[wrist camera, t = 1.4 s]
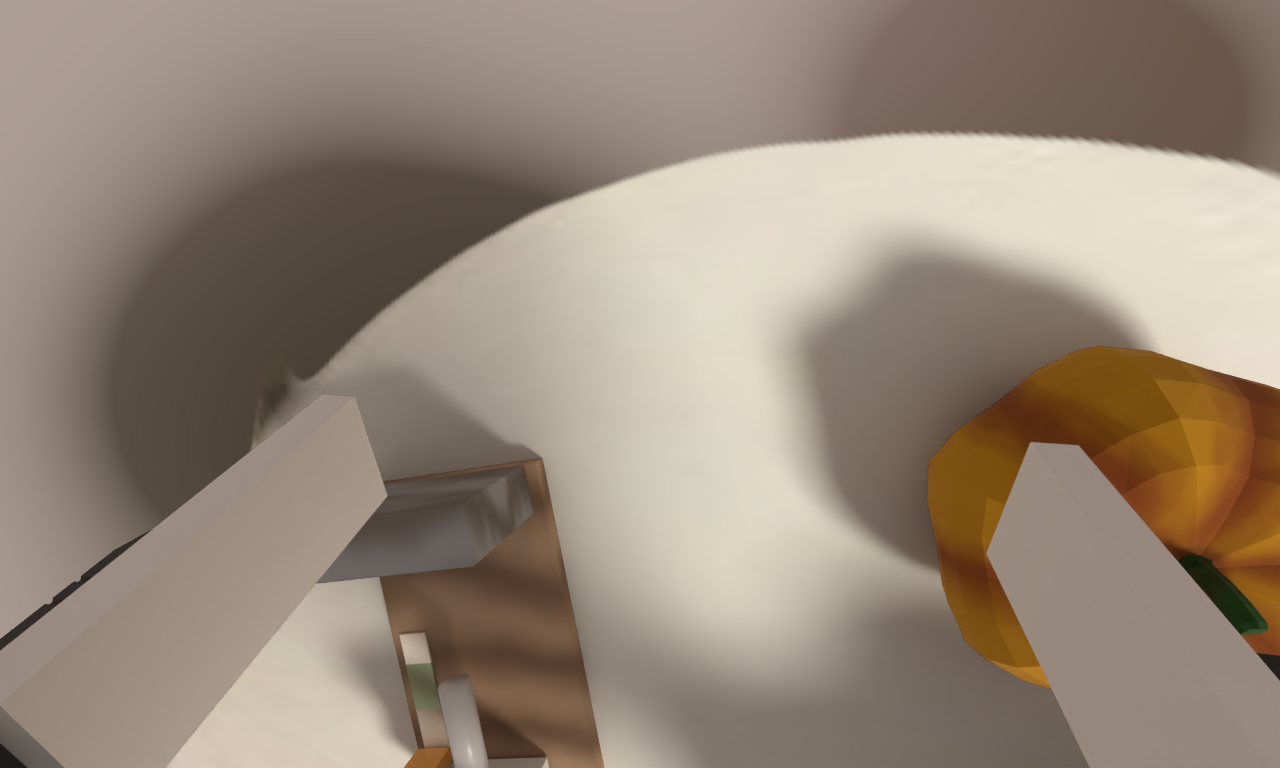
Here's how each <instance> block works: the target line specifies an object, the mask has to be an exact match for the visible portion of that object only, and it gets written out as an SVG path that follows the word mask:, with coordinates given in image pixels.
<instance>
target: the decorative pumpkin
mask: <svg viewBox="0 0 1280 768" xmlns="http://www.w3.org/2000/svg"><path fill="white" fill-rule="evenodd" d="M1030 442H1037V443H1052V444H1067V445H1079V446H1080V448H1081V449H1082V450H1083V451H1084V452H1085V453H1086V455H1087V456H1088V457H1089V458H1090V459H1091V460H1092V462H1093V463H1094V464H1095V465H1096V466H1097V468H1098V469H1099V470H1100V471H1101V472H1102V473H1103V475H1104V476H1105V477H1106V478H1107V479H1108V480H1109V482H1110V483H1111V484H1112V485H1113V486H1114V487H1115V489H1116V490H1117V491H1118V492H1119V493H1120V494H1121V496H1122V497H1123V498H1124V499H1125V500H1126V501H1127V503H1128V504H1129V505H1130V506H1131V507H1132V508H1133V510H1134V511H1135V512H1136V513H1137V514H1138V515H1139V517H1140V518H1141V519H1142V520H1143V521H1144V523H1145V524H1146V525H1147V526H1148V527H1149V528H1150V530H1151V531H1152V532H1153V533H1154V534H1155V535H1156V537H1157V538H1158V539H1159V540H1160V541H1161V542H1162V544H1163V545H1164V546H1165V547H1166V548H1167V549H1168V551H1169V552H1170V553H1171V554H1172V555H1173V556H1174V558H1175V559H1176V560H1177V561H1178V562H1179V563H1180V565H1181V566H1182V567H1183V568H1184V569H1185V571H1186V572H1187V573H1188V574H1189V575H1190V576H1191V578H1192V579H1193V580H1194V581H1195V582H1196V583H1197V585H1198V586H1199V587H1200V588H1201V589H1202V590H1203V592H1204V593H1205V594H1206V595H1207V596H1208V597H1209V599H1210V600H1211V601H1212V602H1213V603H1214V604H1215V606H1216V607H1217V608H1218V609H1219V610H1220V611H1221V613H1222V614H1223V615H1224V616H1225V617H1226V618H1227V620H1228V621H1229V622H1230V623H1231V624H1232V626H1233V627H1234V628H1235V629H1236V630H1237V631H1238V633H1239V634H1240V635H1241V636H1242V637H1243V638H1244V640H1245V641H1246V642H1247V643H1248V644H1249V645H1250V647H1251V648H1252V649H1253V650H1254V651H1255V652H1256V653H1261V654H1270V655H1279V656H1280V389H1277V388H1274V387H1271V386H1268V385H1265V384H1261V383H1257V382H1253V381H1250V380H1246V379H1242V378H1238V377H1235V376H1231V375H1227V374H1223V373H1220V372H1216V371H1212V370H1208V369H1205V368H1202V367H1199V366H1196V365H1192V364H1189V363H1186V362H1183V361H1180V360H1177V359H1174V358H1171V357H1168V356H1165V355H1162V354H1158V353H1155V352H1152V351H1146V350H1135V349H1124V348H1114V347H1103V346H1097V347H1092V348H1088V349H1083V350H1078V351H1075V352H1073V353H1071V354H1069V355H1067V356H1065V357H1063V358H1061V359H1059V360H1057V361H1055V362H1053V363H1051V364H1049V365H1047V366H1045V367H1043V368H1041V369H1039V370H1037V371H1035V372H1034V373H1033V374H1031V375H1030V376H1029V377H1028V378H1026V379H1025V380H1024V381H1023V382H1021V383H1020V384H1019V385H1018V386H1017V387H1015V388H1014V389H1013V390H1012V391H1010V392H1009V393H1008V394H1007V395H1005V396H1004V397H1003V398H1002V399H1000V400H999V401H998V402H997V403H995V404H994V405H992V406H991V407H990V408H988V409H987V410H985V411H984V412H983V413H981V414H980V415H978V416H977V417H975V418H974V419H973V420H971V421H970V422H968V423H967V424H965V425H964V426H963V427H961V428H960V429H958V430H957V431H956V432H955V433H954V434H953V435H952V436H951V437H950V438H949V439H948V441H947V442H946V443H945V444H944V445H943V446H942V447H941V448H940V450H939V451H938V452H937V453H936V454H935V455H934V456H933V457H932V458H931V460H930V461H929V465H928V488H927V503H928V507H929V512H930V517H931V521H932V526H933V530H934V535H935V540H936V545H937V552H938V558H939V565H940V572H941V579H942V585H943V588H944V591H945V594H946V597H947V601H948V603H949V606H950V608H951V610H952V612H953V615H954V617H955V619H956V621H957V624H958V626H959V628H960V630H961V633H962V635H963V637H964V640H965V642H966V643H968V644H969V645H970V646H971V647H972V648H973V649H975V650H976V651H977V652H978V653H979V654H980V655H982V656H983V657H984V658H985V659H987V660H988V661H990V662H992V663H994V664H995V665H997V666H999V667H1001V668H1002V669H1004V670H1006V671H1008V672H1009V673H1011V674H1013V675H1015V676H1016V677H1018V678H1020V679H1022V680H1023V681H1026V682H1029V683H1032V684H1036V685H1039V686H1042V687H1045V688H1048V689H1051V687H1050V685H1049V683H1048V681H1047V678H1046V676H1045V674H1044V672H1043V670H1042V668H1041V666H1040V664H1039V662H1038V660H1037V658H1036V656H1035V654H1034V652H1033V649H1032V647H1031V645H1030V643H1029V641H1028V639H1027V637H1026V635H1025V633H1024V631H1023V629H1022V627H1021V625H1020V622H1019V620H1018V618H1017V616H1016V614H1015V612H1014V610H1013V608H1012V606H1011V604H1010V602H1009V600H1008V598H1007V596H1006V593H1005V591H1004V589H1003V587H1002V585H1001V583H1000V581H999V579H998V577H997V575H996V573H995V571H994V569H993V567H992V564H991V562H990V560H989V558H988V556H987V554H986V553H987V550H988V548H989V545H990V543H991V540H992V538H993V535H994V533H995V530H996V528H997V525H998V523H999V520H1000V518H1001V515H1002V513H1003V510H1004V508H1005V505H1006V502H1007V500H1008V497H1009V495H1010V492H1011V490H1012V487H1013V485H1014V482H1015V480H1016V477H1017V475H1018V472H1019V470H1020V467H1021V465H1022V462H1023V460H1024V457H1025V454H1026V452H1027V449H1028V447H1029V444H1030ZM1051 690H1052V689H1051Z"/></svg>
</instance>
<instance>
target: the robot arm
mask: <svg viewBox="0 0 1280 768" xmlns="http://www.w3.org/2000/svg"><path fill="white" fill-rule="evenodd" d="M387 496H388V495H387V492H386V489H385V486H384V483H383V480H382V477H381V474H380V471H379V468H378V465H377V462H376V459H375V456H374V453H373V450H372V447H371V444H370V441H369V438H368V435H367V432H366V429H365V426H364V423H363V420H362V417H361V414H360V411H359V408H358V405H357V402H356V399H355V397H354V396H339V395H324V394H322V395H321V396H320V397H318V398H317V399H316V400H315V401H313V402H312V403H311V404H310V405H308V406H307V407H306V408H305V409H303V410H302V411H301V412H300V413H298V414H297V415H296V416H295V417H293V418H292V419H291V420H289V421H288V422H287V423H286V424H284V425H283V426H282V427H281V428H279V429H278V430H277V431H276V432H274V433H273V434H272V435H271V436H269V437H268V438H267V439H266V440H264V441H263V442H262V443H261V444H259V445H258V446H257V447H256V448H254V449H253V450H252V451H251V452H249V453H248V454H247V455H245V456H244V457H243V458H242V459H240V460H239V461H238V462H237V463H236V464H234V465H233V466H232V467H230V468H229V469H228V470H227V471H225V472H224V473H223V474H222V475H220V476H219V477H218V478H217V479H215V480H214V481H213V482H212V483H210V484H209V485H208V486H207V487H205V488H204V489H203V490H201V491H200V492H199V493H198V494H196V495H195V496H194V497H193V498H191V499H190V500H189V501H188V502H186V503H185V504H184V505H183V506H181V507H180V508H179V509H178V510H177V511H175V512H174V513H173V514H171V515H170V516H169V517H168V518H166V519H165V520H164V521H163V522H161V523H160V524H159V525H158V526H156V527H155V528H154V529H152V530H150V531H148V532H146V533H145V534H143V535H141V536H139V537H137V538H135V539H134V540H132V541H130V542H128V543H127V544H124V545H123V546H121V547H119V548H117V549H115V550H114V551H112V552H111V553H110V554H109V555H107V556H106V557H105V558H104V559H102V560H101V561H100V562H98V563H97V564H96V565H95V566H93V567H92V568H91V569H89V570H88V571H87V572H86V573H84V574H83V575H82V576H81V580H80V581H79V582H73V583H71V584H70V585H69V586H68V587H66V588H65V589H64V590H62V591H61V592H60V593H59V594H57V595H56V596H55V597H53V601H52V603H51V604H49V605H48V604H45V605H43V606H42V607H41V608H39V609H38V610H37V611H36V612H34V613H33V614H32V615H30V616H29V617H28V618H27V619H25V620H24V621H23V622H21V623H20V624H19V625H18V626H16V627H15V628H14V629H12V630H11V631H10V632H9V633H7V634H6V635H5V636H4V637H2V638H1V639H0V768H165V767H166V766H167V765H168V764H169V763H170V761H171V760H172V759H173V758H174V756H175V755H176V754H177V753H178V752H179V750H180V749H181V748H182V747H183V745H184V744H185V743H186V742H187V741H188V739H189V738H190V737H191V736H192V734H193V733H194V732H195V731H196V730H197V728H198V727H199V726H200V725H201V723H202V722H203V721H204V720H205V719H206V717H207V716H208V715H209V714H210V712H211V711H212V710H213V709H214V708H215V706H216V705H217V704H218V703H219V701H220V700H221V699H222V698H223V697H224V695H225V694H226V693H227V692H228V690H229V689H230V688H231V687H232V686H233V684H234V683H235V682H236V681H237V679H238V678H239V677H240V676H241V675H242V673H243V672H244V671H245V670H246V668H247V667H248V666H249V665H250V664H251V662H252V661H253V660H254V659H255V657H256V656H257V655H258V654H259V653H260V651H261V650H262V649H263V648H264V646H265V645H266V644H267V643H268V641H269V640H270V639H271V638H272V637H273V635H274V634H275V633H276V632H277V630H278V629H279V628H280V627H281V626H282V624H283V623H284V622H285V621H286V619H287V618H288V617H289V616H290V615H291V613H292V612H293V611H294V610H295V608H296V607H297V606H298V605H299V604H300V602H301V601H302V600H303V599H304V597H305V596H306V595H307V594H308V593H309V591H310V590H311V589H312V588H313V586H314V585H315V584H316V583H317V582H318V580H319V579H320V578H321V577H322V575H323V574H324V573H325V572H326V571H327V569H328V568H329V567H330V566H331V564H332V563H333V562H334V561H335V560H336V558H337V557H338V556H339V555H340V553H341V552H342V551H343V550H344V549H345V547H346V546H347V545H348V544H349V542H350V541H351V540H352V539H353V538H354V536H355V535H356V534H357V533H358V531H359V530H360V529H361V528H362V527H363V525H364V524H365V523H366V522H367V520H368V519H369V518H370V517H371V516H372V514H373V513H374V512H375V511H376V509H377V508H378V507H379V506H380V505H381V503H382V502H383V501H384V500H385V498H386V497H387ZM986 554H987V556H988V558H989V560H990V562H991V564H992V567H993V569H994V571H995V573H996V575H997V577H998V579H999V581H1000V583H1001V585H1002V587H1003V589H1004V591H1005V593H1006V596H1007V598H1008V600H1009V602H1010V604H1011V606H1012V608H1013V610H1014V612H1015V614H1016V616H1017V618H1018V620H1019V622H1020V625H1021V627H1022V629H1023V631H1024V633H1025V635H1026V637H1027V639H1028V641H1029V643H1030V645H1031V647H1032V649H1033V652H1034V654H1035V656H1036V658H1037V660H1038V662H1039V664H1040V666H1041V668H1042V670H1043V672H1044V674H1045V676H1046V678H1047V681H1048V683H1049V685H1050V687H1051V689H1052V691H1053V693H1054V695H1055V697H1056V699H1057V701H1058V703H1059V705H1060V707H1061V710H1062V712H1063V714H1064V716H1065V718H1066V720H1067V722H1068V724H1069V726H1070V728H1071V730H1072V732H1073V734H1074V737H1075V739H1076V741H1077V743H1078V745H1079V747H1080V749H1081V751H1082V753H1083V755H1084V757H1085V759H1086V761H1087V763H1088V766H1089V768H1280V656H1279V655H1270V654H1261V653H1256V652H1255V651H1254V650H1253V649H1252V648H1251V647H1250V645H1249V644H1248V643H1247V642H1246V641H1245V640H1244V638H1243V637H1242V636H1241V635H1240V634H1239V633H1238V631H1237V630H1236V629H1235V628H1234V627H1233V626H1232V624H1231V623H1230V622H1229V621H1228V620H1227V618H1226V617H1225V616H1224V615H1223V614H1222V613H1221V611H1220V610H1219V609H1218V608H1217V607H1216V606H1215V604H1214V603H1213V602H1212V601H1211V600H1210V599H1209V597H1208V596H1207V595H1206V594H1205V593H1204V592H1203V590H1202V589H1201V588H1200V587H1199V586H1198V585H1197V583H1196V582H1195V581H1194V580H1193V579H1192V578H1191V576H1190V575H1189V574H1188V573H1187V572H1186V571H1185V569H1184V568H1183V567H1182V566H1181V565H1180V563H1179V562H1178V561H1177V560H1176V559H1175V558H1174V556H1173V555H1172V554H1171V553H1170V552H1169V551H1168V549H1167V548H1166V547H1165V546H1164V545H1163V544H1162V542H1161V541H1160V540H1159V539H1158V538H1157V537H1156V535H1155V534H1154V533H1153V532H1152V531H1151V530H1150V528H1149V527H1148V526H1147V525H1146V524H1145V523H1144V521H1143V520H1142V519H1141V518H1140V517H1139V515H1138V514H1137V513H1136V512H1135V511H1134V510H1133V508H1132V507H1131V506H1130V505H1129V504H1128V503H1127V501H1126V500H1125V499H1124V498H1123V497H1122V496H1121V494H1120V493H1119V492H1118V491H1117V490H1116V489H1115V487H1114V486H1113V485H1112V484H1111V483H1110V482H1109V480H1108V479H1107V478H1106V477H1105V476H1104V475H1103V473H1102V472H1101V471H1100V470H1099V469H1098V468H1097V466H1096V465H1095V464H1094V463H1093V462H1092V460H1091V459H1090V458H1089V457H1088V456H1087V455H1086V453H1085V452H1084V451H1083V450H1082V449H1081V448H1080V446H1079V445H1067V444H1052V443H1037V442H1030V444H1029V447H1028V449H1027V452H1026V454H1025V457H1024V460H1023V462H1022V465H1021V467H1020V470H1019V472H1018V475H1017V477H1016V480H1015V482H1014V485H1013V487H1012V490H1011V492H1010V495H1009V497H1008V500H1007V502H1006V505H1005V508H1004V510H1003V513H1002V515H1001V518H1000V520H999V523H998V525H997V528H996V530H995V533H994V535H993V538H992V540H991V543H990V545H989V548H988V550H987V553H986Z"/></svg>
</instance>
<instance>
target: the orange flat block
mask: <svg viewBox="0 0 1280 768" xmlns="http://www.w3.org/2000/svg"><path fill="white" fill-rule="evenodd" d="M451 762H452V756H451V752H450V748H428V749H418V750H417V751H416V753H415V754H414V755H413V756H412V758H411V759H410V760H409V762H408V763H407V764H406V766H405V767H404V768H448V767H449V765H450V764H451Z"/></svg>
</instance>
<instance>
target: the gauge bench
mask: <svg viewBox="0 0 1280 768" xmlns="http://www.w3.org/2000/svg"><path fill="white" fill-rule="evenodd" d="M383 483H384V486H385V489H386V492H387V495H388V496H387V497H386V498H385V500H384V501H383V502H382V503H381V505H380V506H379V507H378V508H377V509H376V511H375V512H374V513H373V514H372V516H371V517H370V518H369V519H368V520H367V522H366V523H365V524H364V525H363V527H362V528H361V529H360V530H359V531H358V533H357V534H356V535H355V536H354V538H353V539H352V540H351V541H350V542H349V544H348V545H347V546H346V547H345V549H344V550H343V551H342V552H341V553H340V555H339V556H338V557H337V558H336V560H335V561H334V562H333V563H332V564H331V566H330V567H329V568H328V569H327V571H326V572H325V573H324V574H323V575H322V577H321V578H320V579H319V580H318V582H317V583H326V582H335V581H344V580H353V579H362V578H372V577H380V580H381V585H382V589H383V594H384V598H385V603H386V607H387V612H388V616H389V620H390V625H391V629H392V634H393V638H394V643H395V647H396V652H397V656H398V661H399V665H400V669H401V674H402V678H403V683H404V687H405V692H406V696H407V701H408V705H409V709H410V714H411V718H412V723H413V727H414V732H415V736H416V741H417V745H418V749H428V748H450V744H449V740H448V735H447V731H446V726H445V721H444V717H443V712H442V708H441V703H440V699H439V694H438V687H439V685H440V684H441V683H442V682H443V681H445V680H446V679H448V678H450V677H452V676H455V675H459V674H467V675H469V676H470V679H471V683H472V688H473V693H474V697H475V702H476V706H477V711H478V716H479V720H480V725H481V730H482V734H483V739H484V744H485V748H486V753H487V758H488V759H512V758H543V757H547V760H548V764H549V768H604V765H603V760H602V755H601V750H600V745H599V740H598V735H597V730H596V725H595V720H594V715H593V710H592V705H591V700H590V695H589V690H588V685H587V680H586V675H585V670H584V665H583V660H582V655H581V650H580V645H579V640H578V635H577V630H576V625H575V620H574V615H573V610H572V605H571V600H570V595H569V590H568V585H567V580H566V575H565V570H564V565H563V560H562V555H561V550H560V545H559V540H558V535H557V530H556V525H555V520H554V515H553V510H552V505H551V500H550V495H549V490H548V485H547V480H546V475H545V470H544V465H543V460H542V458H540V459H534V460H527V461H520V462H513V463H507V464H500V465H493V466H486V467H480V468H473V469H466V470H459V471H453V472H446V473H439V474H432V475H426V476H419V477H412V478H405V479H399V480H392V481H385V482H383ZM317 583H316V584H317ZM450 752H451V749H450ZM451 756H452V753H451ZM451 763H454V762H453V758H452V762H451Z"/></svg>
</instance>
